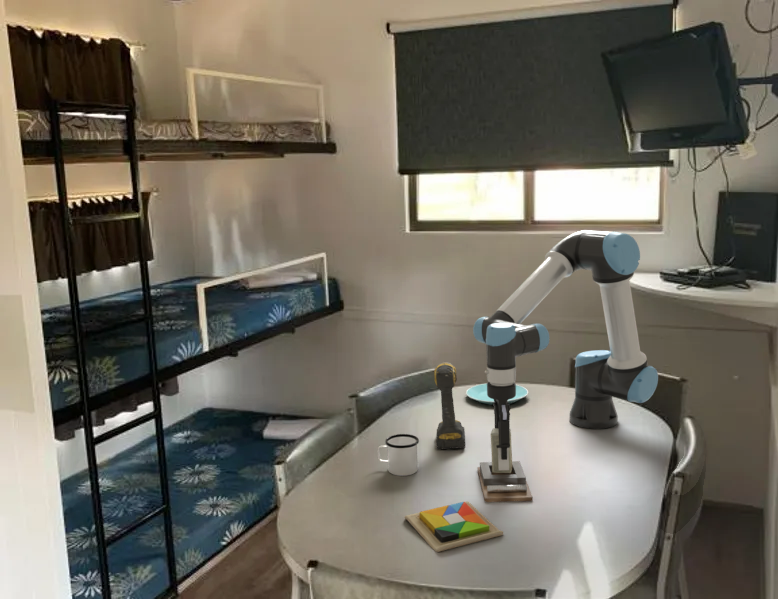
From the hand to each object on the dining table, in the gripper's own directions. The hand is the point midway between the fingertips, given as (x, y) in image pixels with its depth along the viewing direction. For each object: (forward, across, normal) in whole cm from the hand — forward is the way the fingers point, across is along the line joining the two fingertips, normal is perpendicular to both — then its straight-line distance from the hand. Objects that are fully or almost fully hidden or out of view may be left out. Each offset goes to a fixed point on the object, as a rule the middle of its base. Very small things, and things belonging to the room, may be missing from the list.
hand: (502, 465), depth 207 cm
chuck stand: (+4, +3, 0) cm, 5 cm away
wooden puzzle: (+5, +26, -15) cm, 30 cm away
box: (+2, 0, 0) cm, 2 cm away
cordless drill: (+5, -31, -12) cm, 33 cm away
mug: (+4, -9, -28) cm, 30 cm away
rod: (+4, +10, 0) cm, 11 cm away
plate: (+5, -71, +7) cm, 71 cm away
